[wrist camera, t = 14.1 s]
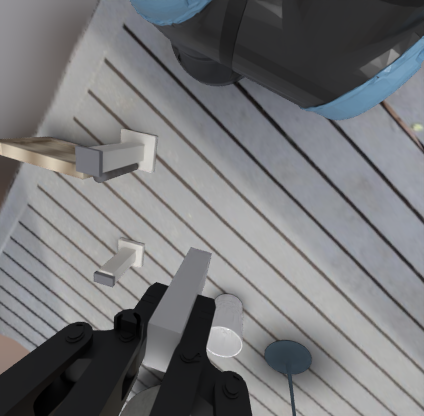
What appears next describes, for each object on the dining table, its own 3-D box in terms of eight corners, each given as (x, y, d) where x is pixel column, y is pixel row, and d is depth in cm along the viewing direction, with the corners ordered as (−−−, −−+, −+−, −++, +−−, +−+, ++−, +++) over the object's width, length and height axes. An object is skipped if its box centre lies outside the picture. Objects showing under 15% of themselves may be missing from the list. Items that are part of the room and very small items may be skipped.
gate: (139, 161, 44) (103, 172, 34) (137, 171, 45) (102, 185, 35) (49, 136, 46) (-10, 139, 36) (49, 146, 47) (-9, 152, 37)
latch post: (121, 237, 53) (89, 263, 43) (145, 244, 53) (118, 272, 43) (120, 258, 55) (89, 287, 45) (142, 265, 55) (116, 296, 45)
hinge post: (124, 128, 44) (63, 130, 31) (157, 136, 44) (111, 141, 30) (122, 164, 47) (65, 179, 33) (154, 171, 46) (109, 191, 32)
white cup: (216, 286, 53) (207, 321, 43) (249, 298, 52) (247, 335, 43) (208, 311, 56) (198, 348, 46) (239, 322, 55) (235, 362, 46)
